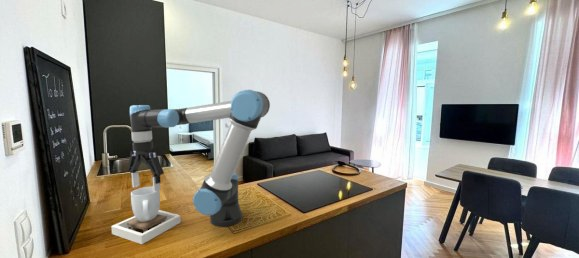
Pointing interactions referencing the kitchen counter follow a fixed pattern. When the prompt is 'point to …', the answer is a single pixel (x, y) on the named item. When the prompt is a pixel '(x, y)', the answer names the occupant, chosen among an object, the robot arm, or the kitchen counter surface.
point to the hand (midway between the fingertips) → (146, 188)
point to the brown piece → (146, 223)
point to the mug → (145, 203)
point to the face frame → (141, 238)
